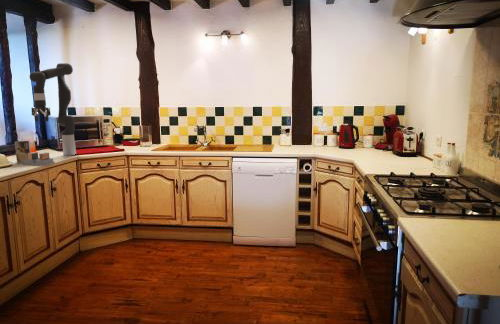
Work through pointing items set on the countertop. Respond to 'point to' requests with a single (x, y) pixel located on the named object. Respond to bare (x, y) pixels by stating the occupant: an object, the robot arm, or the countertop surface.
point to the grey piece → (37, 160)
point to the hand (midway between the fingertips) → (41, 121)
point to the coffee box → (22, 150)
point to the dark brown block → (44, 156)
